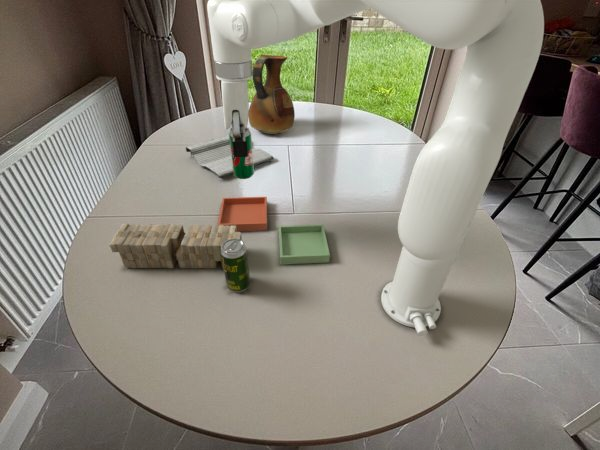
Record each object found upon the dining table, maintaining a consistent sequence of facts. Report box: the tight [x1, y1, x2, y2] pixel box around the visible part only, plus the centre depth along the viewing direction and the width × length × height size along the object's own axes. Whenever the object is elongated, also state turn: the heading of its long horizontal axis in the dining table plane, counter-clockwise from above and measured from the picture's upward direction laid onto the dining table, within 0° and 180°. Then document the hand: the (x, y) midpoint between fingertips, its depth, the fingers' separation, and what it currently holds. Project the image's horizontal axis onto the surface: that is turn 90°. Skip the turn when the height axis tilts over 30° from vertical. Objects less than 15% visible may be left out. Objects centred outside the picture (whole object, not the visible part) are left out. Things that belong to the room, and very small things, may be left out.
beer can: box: [221, 238, 251, 293], centre depth 73 cm, size 5×5×12 cm
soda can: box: [228, 126, 255, 180], centre depth 80 cm, size 5×5×12 cm
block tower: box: [108, 223, 243, 269], centre depth 81 cm, size 8×8×29 cm
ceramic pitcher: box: [248, 54, 296, 135], centre depth 138 cm, size 20×20×30 cm
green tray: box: [278, 224, 331, 265], centre depth 87 cm, size 12×12×2 cm
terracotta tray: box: [217, 196, 268, 232], centre depth 96 cm, size 13×13×2 cm
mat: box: [185, 135, 275, 179], centre depth 123 cm, size 23×24×5 cm
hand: (241, 150), depth 79 cm, fingers closed on soda can, 5 cm apart
